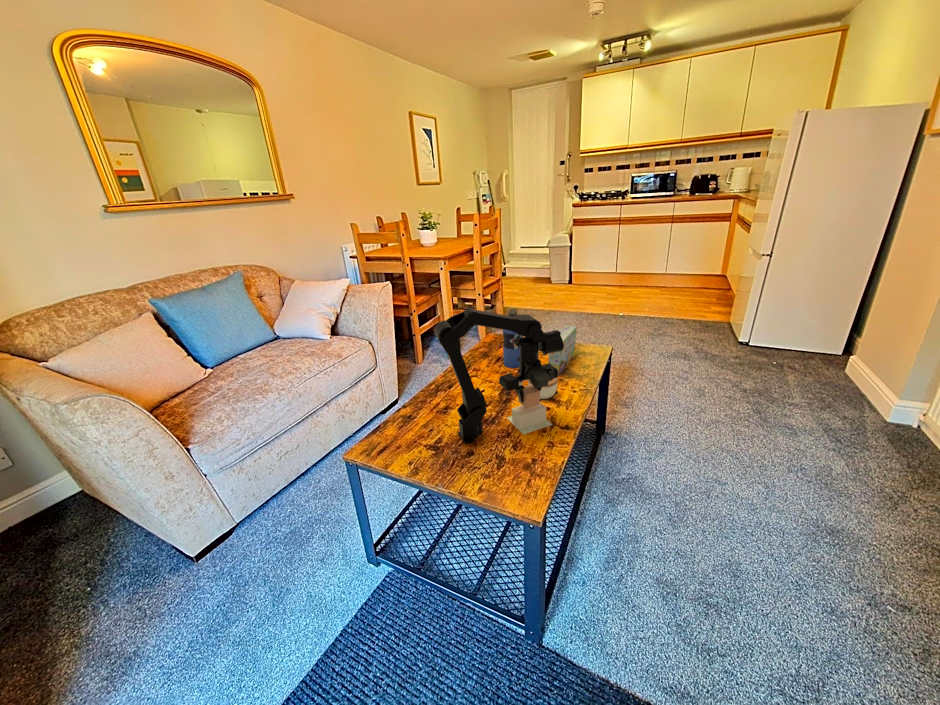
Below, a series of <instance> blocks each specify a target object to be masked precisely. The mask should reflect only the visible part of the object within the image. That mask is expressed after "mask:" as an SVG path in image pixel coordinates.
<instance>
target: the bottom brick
mask: <svg viewBox="0 0 940 705" xmlns="http://www.w3.org/2000/svg"><path fill="white" fill-rule="evenodd" d="M511 416H512V422H513V423H514V424H515V425H516V426H517V427H518V428H519V429H522V428H525V427H528V426H531V425H534V424H537V423H540V422H543V421H546V419H547V407H546V406H545V405H544V404H542V402H540V405H537V406H533V407H530V408H527V409H526V408H525V407H524V406H523V405H522V404H521V405H518V406H516V407H513V408H511Z"/></svg>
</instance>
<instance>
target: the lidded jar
mask: <svg viewBox="0 0 940 705" xmlns="http://www.w3.org/2000/svg"><path fill="white" fill-rule="evenodd" d="M558 377H559V376H558ZM558 377H557V378H554V379H553V380H552V381H549V382H548V385H547V386H543V387H542V388H541V391H540V400H547V399H550V398H552V397H553V396H554V395H555V393H556V392H557V388H558V381H559V378H558ZM527 382H528V385H531V384H532V383H531V382H530V380H527ZM528 385H527V386H528ZM532 385H533V384H532Z"/></svg>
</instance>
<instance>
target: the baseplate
mask: <svg viewBox="0 0 940 705" xmlns="http://www.w3.org/2000/svg"><path fill="white" fill-rule="evenodd" d="M506 419H507V420H508V421H509V422H510V423H511V425H513V426H514V427H515V428H516V429H517V430H518V431H519V432H520V433H522V435H526V434H529V433H531V432H535V431H539V430H541V429H544V428H547V427H550V426H553V423H551V421H550V420H548V419H547V418H546V421H543V422H540V423H537V424H534V425H531V426H528V427H525V428H522V429H519V428H518V427H517V426H516V425H515V424H514V423H513V422H512V415H510V416H507V417H506Z"/></svg>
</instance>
